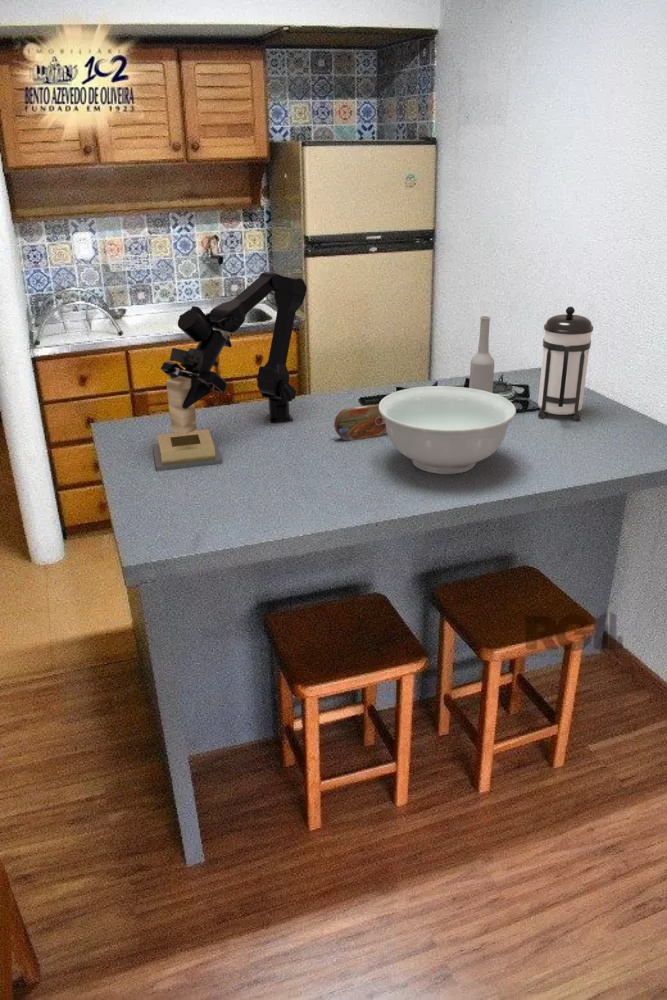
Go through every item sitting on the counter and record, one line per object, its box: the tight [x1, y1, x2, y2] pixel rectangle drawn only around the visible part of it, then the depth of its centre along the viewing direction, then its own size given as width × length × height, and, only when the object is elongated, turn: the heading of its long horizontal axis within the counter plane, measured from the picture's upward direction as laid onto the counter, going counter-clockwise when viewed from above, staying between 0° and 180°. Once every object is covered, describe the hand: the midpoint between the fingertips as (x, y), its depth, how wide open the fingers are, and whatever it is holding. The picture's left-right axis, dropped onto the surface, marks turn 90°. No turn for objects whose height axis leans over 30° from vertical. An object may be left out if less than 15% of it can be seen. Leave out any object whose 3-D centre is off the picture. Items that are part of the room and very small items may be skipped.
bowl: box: [378, 385, 517, 475], centre depth 186 cm, size 32×32×15 cm
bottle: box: [468, 315, 495, 394], centre depth 213 cm, size 7×7×28 cm
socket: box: [152, 429, 223, 471], centre depth 196 cm, size 16×16×4 cm
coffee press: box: [537, 306, 594, 422], centre depth 212 cm, size 17×16×30 cm
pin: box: [165, 376, 198, 435], centre depth 191 cm, size 4×4×13 cm
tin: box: [333, 404, 387, 442], centre depth 205 cm, size 15×3×8 cm, turn 109°
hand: (177, 406), depth 190 cm, fingers closed on pin, 4 cm apart
